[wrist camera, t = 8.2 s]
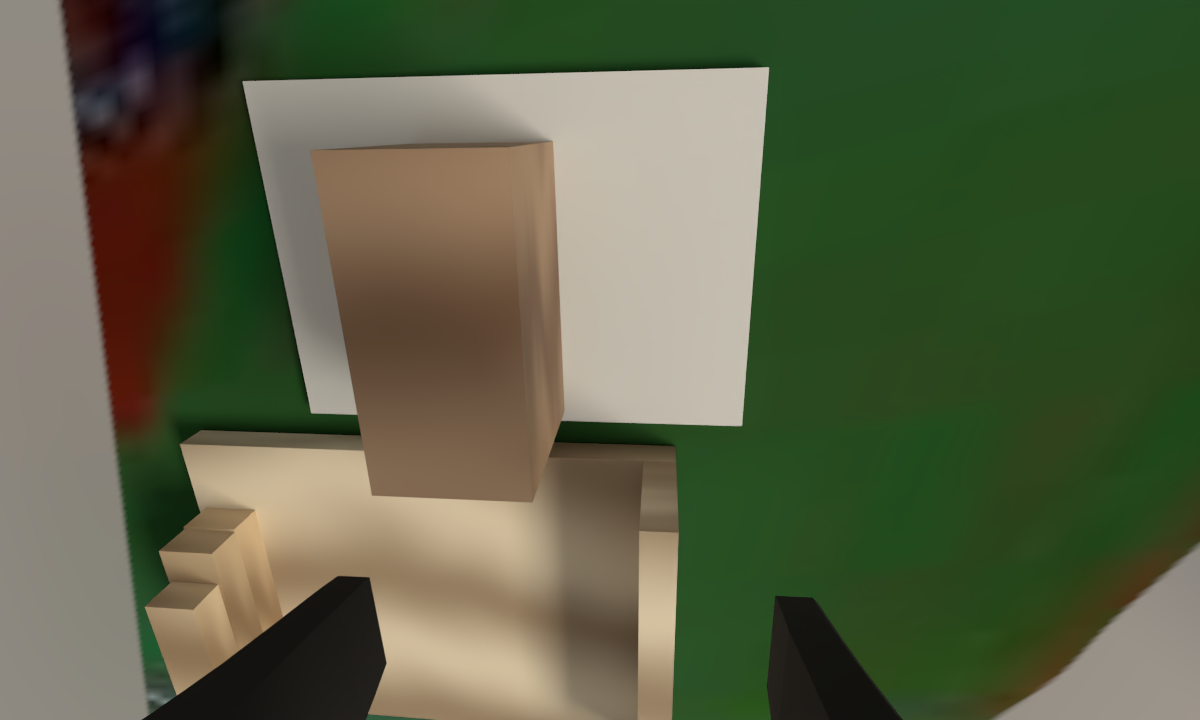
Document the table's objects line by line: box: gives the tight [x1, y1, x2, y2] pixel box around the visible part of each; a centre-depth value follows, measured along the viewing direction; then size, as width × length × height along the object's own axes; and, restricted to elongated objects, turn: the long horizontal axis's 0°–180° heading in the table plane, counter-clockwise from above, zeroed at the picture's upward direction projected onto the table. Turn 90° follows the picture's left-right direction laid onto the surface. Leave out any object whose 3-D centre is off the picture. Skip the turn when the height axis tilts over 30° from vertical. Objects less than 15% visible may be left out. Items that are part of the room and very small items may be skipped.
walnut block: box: [310, 141, 564, 503], centre depth 16 cm, size 8×4×5 cm, turn 1°
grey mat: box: [242, 67, 769, 426], centre depth 18 cm, size 10×14×1 cm
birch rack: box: [180, 430, 679, 720], centre depth 20 cm, size 12×16×4 cm
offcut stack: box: [145, 508, 283, 695], centre depth 21 cm, size 7×2×3 cm, turn 1°
